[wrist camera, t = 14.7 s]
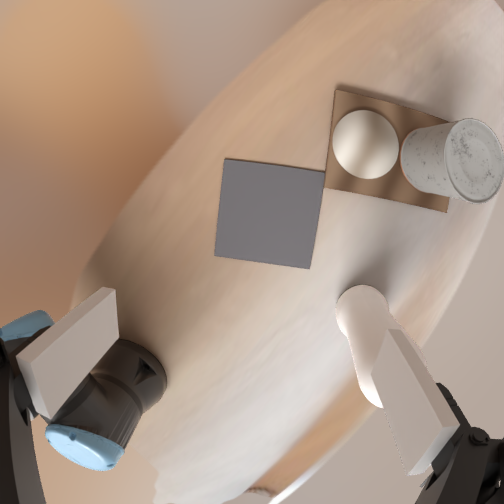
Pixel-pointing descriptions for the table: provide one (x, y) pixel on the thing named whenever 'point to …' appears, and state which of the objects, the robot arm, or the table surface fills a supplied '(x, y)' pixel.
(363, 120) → the board
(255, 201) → the mat
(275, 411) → the table surface
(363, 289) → the bottle
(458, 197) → the grey marbled cylinder
